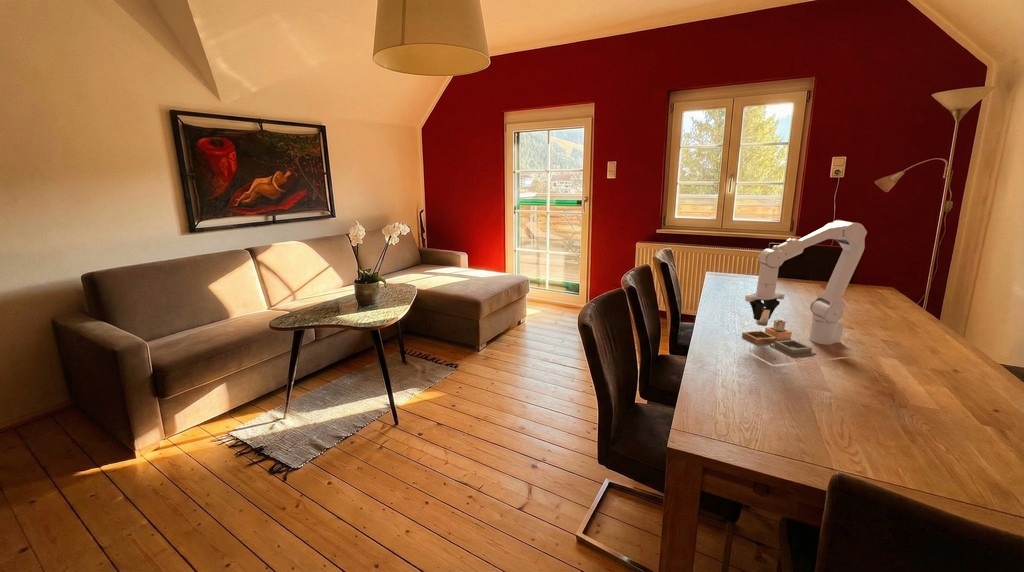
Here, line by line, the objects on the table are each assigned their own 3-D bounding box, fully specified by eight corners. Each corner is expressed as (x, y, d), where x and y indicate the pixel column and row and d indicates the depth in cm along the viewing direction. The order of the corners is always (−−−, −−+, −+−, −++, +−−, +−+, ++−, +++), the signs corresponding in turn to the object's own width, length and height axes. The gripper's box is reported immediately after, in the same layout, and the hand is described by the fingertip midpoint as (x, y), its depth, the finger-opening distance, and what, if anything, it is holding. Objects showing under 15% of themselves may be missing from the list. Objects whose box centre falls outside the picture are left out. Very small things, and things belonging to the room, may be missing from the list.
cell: (767, 323, 158) (771, 307, 156) (766, 326, 155) (770, 310, 153) (756, 321, 160) (759, 305, 158) (755, 324, 157) (758, 308, 155)
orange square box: (777, 334, 166) (779, 326, 165) (790, 340, 160) (791, 331, 159) (764, 335, 164) (765, 327, 164) (776, 341, 159) (777, 333, 158)
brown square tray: (760, 336, 164) (760, 330, 163) (775, 343, 157) (776, 337, 156) (741, 338, 162) (742, 332, 162) (756, 345, 155) (757, 339, 155)
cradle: (792, 345, 155) (793, 338, 155) (815, 356, 146) (817, 348, 146) (769, 347, 154) (770, 340, 153) (791, 358, 144) (792, 351, 144)
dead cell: (777, 334, 164) (780, 318, 163) (785, 337, 161) (788, 321, 159) (769, 335, 163) (772, 319, 162) (777, 338, 160) (779, 322, 158)
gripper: (775, 279, 159) (770, 314, 163) (741, 281, 156) (736, 317, 160) (791, 283, 152) (785, 320, 156) (755, 286, 150) (750, 323, 153)
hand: (761, 319), depth 157 cm, fingers closed on cell, 4 cm apart
